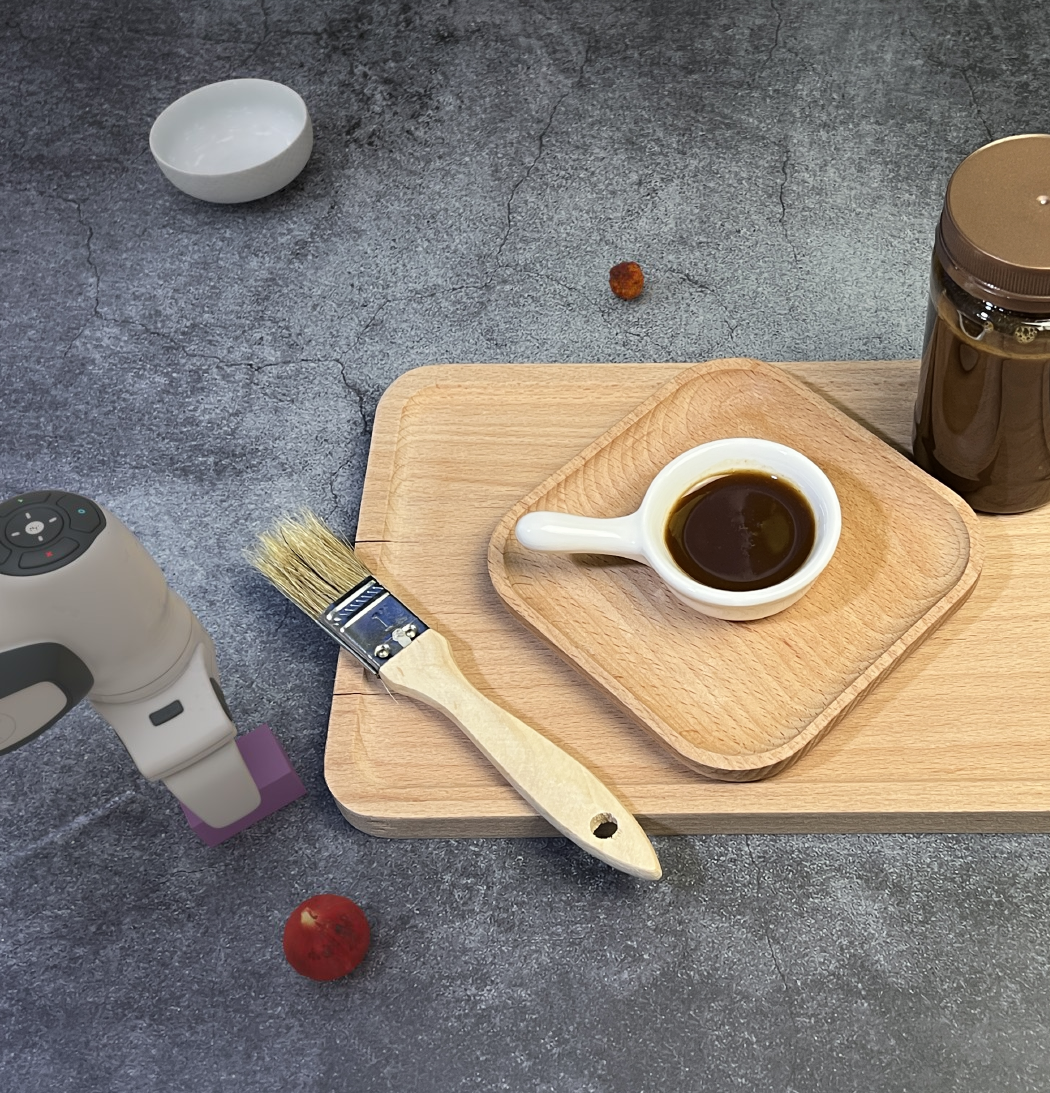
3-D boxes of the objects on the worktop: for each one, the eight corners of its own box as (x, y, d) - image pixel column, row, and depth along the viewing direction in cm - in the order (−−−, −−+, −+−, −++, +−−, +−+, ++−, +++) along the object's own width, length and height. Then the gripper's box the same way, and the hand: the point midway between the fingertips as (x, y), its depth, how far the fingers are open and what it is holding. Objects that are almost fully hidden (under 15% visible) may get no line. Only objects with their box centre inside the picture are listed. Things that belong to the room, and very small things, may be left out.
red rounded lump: (395, 927, 95) (365, 889, 88) (359, 1004, 92) (326, 970, 85) (324, 904, 96) (290, 865, 89) (287, 980, 93) (248, 944, 86)
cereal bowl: (356, 153, 146) (338, 99, 140) (262, 245, 138) (238, 193, 132) (240, 113, 151) (217, 60, 145) (141, 200, 143) (114, 147, 137)
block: (187, 798, 101) (167, 777, 98) (282, 745, 104) (266, 722, 100) (210, 848, 99) (191, 828, 96) (307, 793, 101) (291, 771, 98)
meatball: (640, 279, 132) (636, 249, 129) (650, 302, 130) (646, 273, 127) (606, 288, 132) (601, 258, 129) (616, 311, 130) (611, 282, 127)
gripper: (54, 579, 94) (134, 672, 106) (149, 794, 84) (226, 870, 96) (137, 538, 96) (207, 633, 107) (240, 743, 86) (305, 824, 97)
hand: (217, 747), depth 101 cm, fingers closed
